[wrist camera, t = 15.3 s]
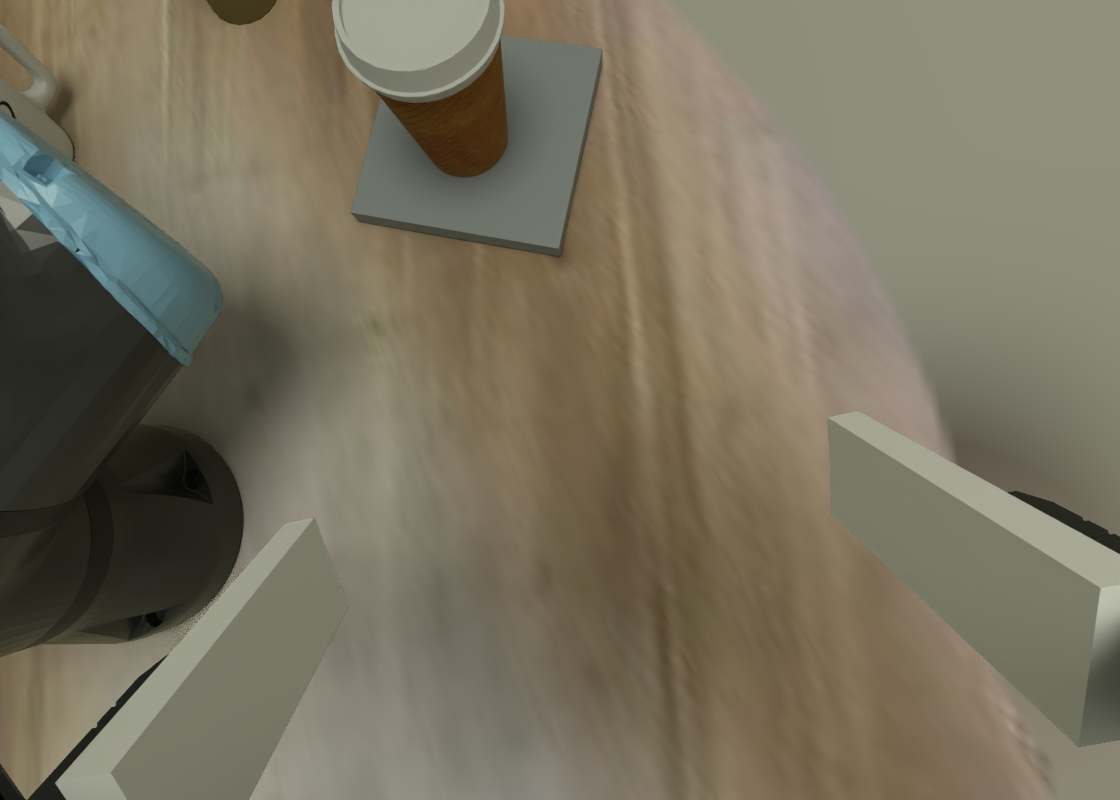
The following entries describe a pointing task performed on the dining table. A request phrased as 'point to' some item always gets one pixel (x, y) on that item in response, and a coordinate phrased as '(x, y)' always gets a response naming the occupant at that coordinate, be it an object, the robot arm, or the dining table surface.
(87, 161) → the dining table surface
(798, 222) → the dining table surface
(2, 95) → the mug
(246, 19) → the olive pawn
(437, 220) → the slate board
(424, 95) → the disposable coffee cup
